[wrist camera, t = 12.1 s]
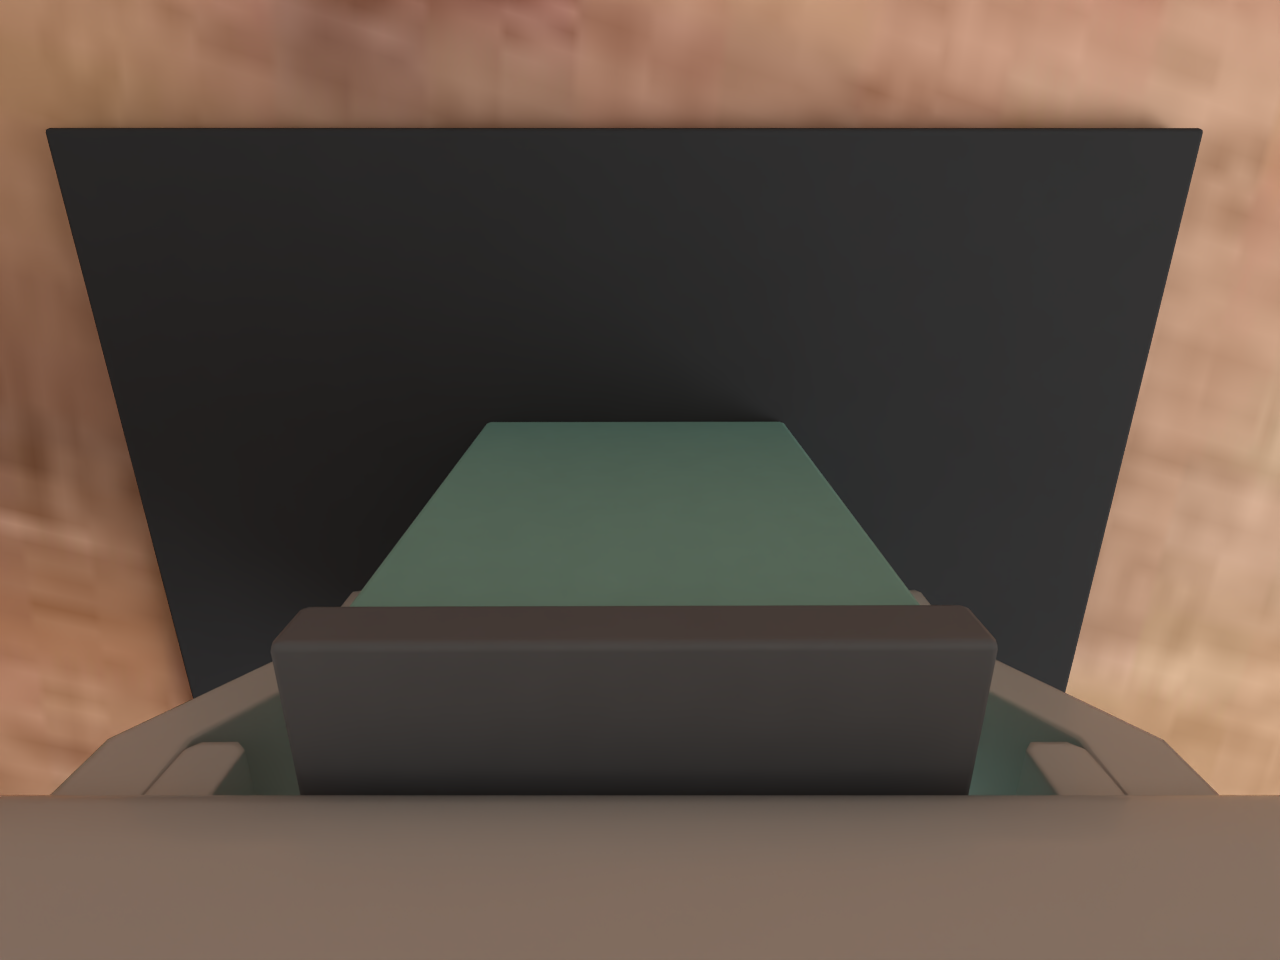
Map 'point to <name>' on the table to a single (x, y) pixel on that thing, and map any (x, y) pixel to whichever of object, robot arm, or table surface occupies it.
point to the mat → (623, 335)
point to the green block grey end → (634, 633)
